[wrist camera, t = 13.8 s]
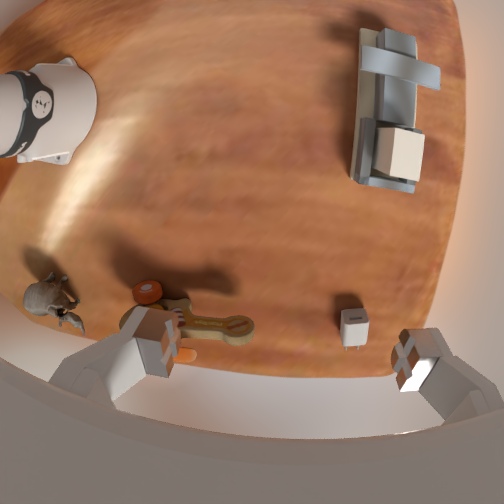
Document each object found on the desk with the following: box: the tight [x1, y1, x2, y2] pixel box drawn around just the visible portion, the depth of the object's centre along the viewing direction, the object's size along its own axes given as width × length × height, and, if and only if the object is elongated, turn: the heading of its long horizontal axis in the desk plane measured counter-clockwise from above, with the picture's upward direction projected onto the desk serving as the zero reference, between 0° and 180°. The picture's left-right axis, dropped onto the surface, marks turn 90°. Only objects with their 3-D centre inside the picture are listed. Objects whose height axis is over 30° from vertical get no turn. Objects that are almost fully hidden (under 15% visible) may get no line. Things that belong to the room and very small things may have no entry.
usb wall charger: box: [340, 308, 369, 350], centre depth 42 cm, size 4×7×4 cm, turn 7°
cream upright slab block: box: [371, 128, 425, 181], centre depth 28 cm, size 4×5×8 cm
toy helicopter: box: [119, 280, 254, 362], centre depth 40 cm, size 8×21×14 cm, turn 92°
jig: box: [349, 28, 440, 193], centre depth 28 cm, size 10×21×6 cm, turn 177°
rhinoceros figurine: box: [23, 272, 85, 337], centre depth 46 cm, size 8×14×15 cm
